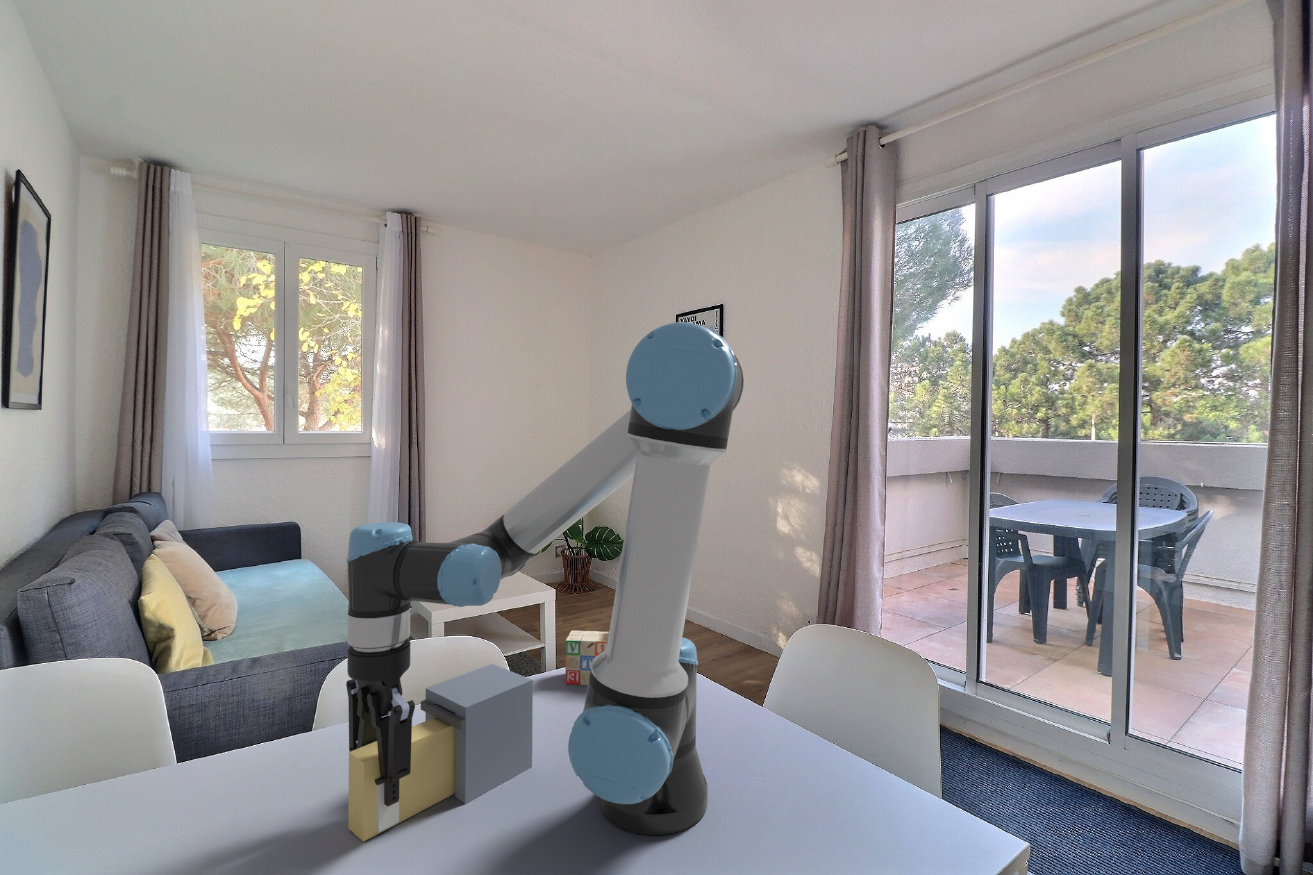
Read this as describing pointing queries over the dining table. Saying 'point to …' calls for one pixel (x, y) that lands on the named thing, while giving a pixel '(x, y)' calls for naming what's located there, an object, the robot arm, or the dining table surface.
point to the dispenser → (485, 726)
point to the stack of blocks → (583, 654)
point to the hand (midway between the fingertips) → (378, 817)
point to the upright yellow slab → (416, 790)
